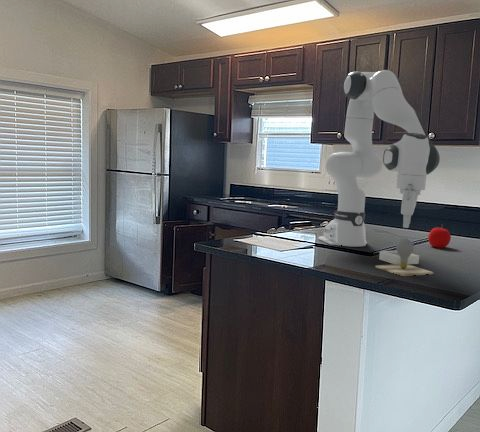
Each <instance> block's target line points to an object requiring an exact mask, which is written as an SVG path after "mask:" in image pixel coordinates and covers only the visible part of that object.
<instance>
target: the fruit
mask: <svg viewBox="0 0 480 432" xmlns="http://www.w3.org/2000/svg"><path fill="white" fill-rule="evenodd" d="M443 227H444V226H443V224H441V227H437V226H436V227H434V228H432V229H431V230H430V231H429V233H428V236H427V239H428V243H429V245H431V246H432V247H433V248H438V249H443V248H446V247H447V246H448V245H449V244H450V242H451V239H452V235H451V233H450V231H449V230H448V229H445V228H443Z"/></svg>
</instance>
